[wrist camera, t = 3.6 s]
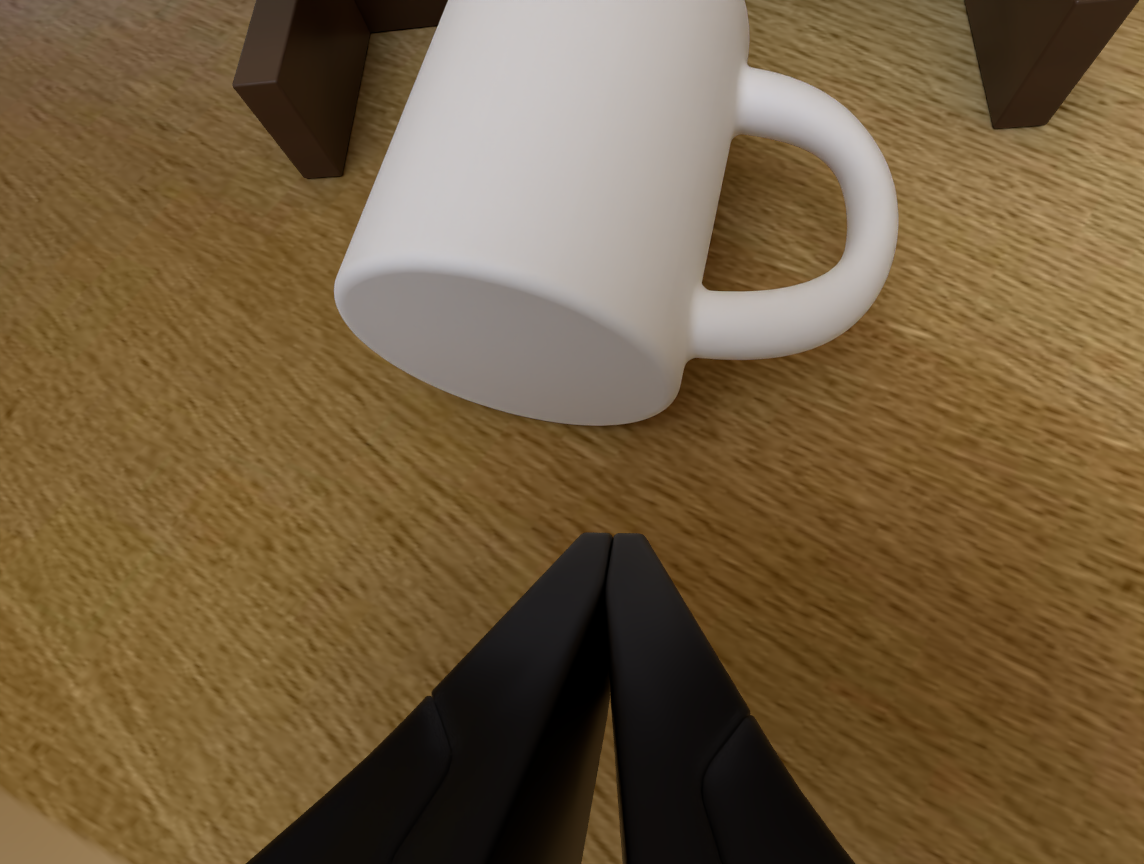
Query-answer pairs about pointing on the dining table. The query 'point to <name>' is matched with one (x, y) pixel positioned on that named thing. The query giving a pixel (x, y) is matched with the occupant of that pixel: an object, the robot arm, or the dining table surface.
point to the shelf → (381, 3)
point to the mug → (593, 208)
